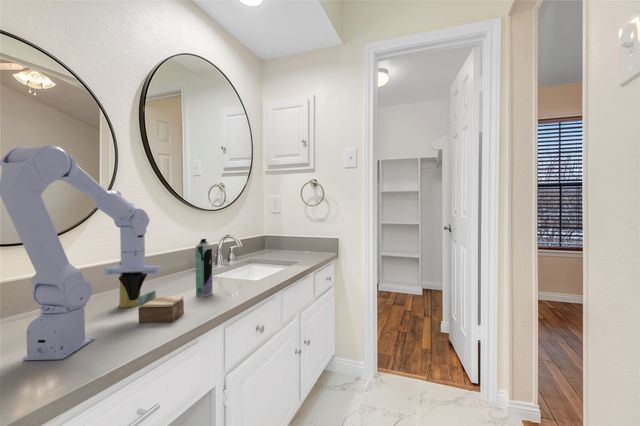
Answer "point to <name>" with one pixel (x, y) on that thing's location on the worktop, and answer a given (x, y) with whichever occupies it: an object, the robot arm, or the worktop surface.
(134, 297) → the robot arm
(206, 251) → the spray can
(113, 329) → the worktop surface
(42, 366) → the worktop surface
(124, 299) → the vase
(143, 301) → the tan panel teal strip
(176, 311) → the box
